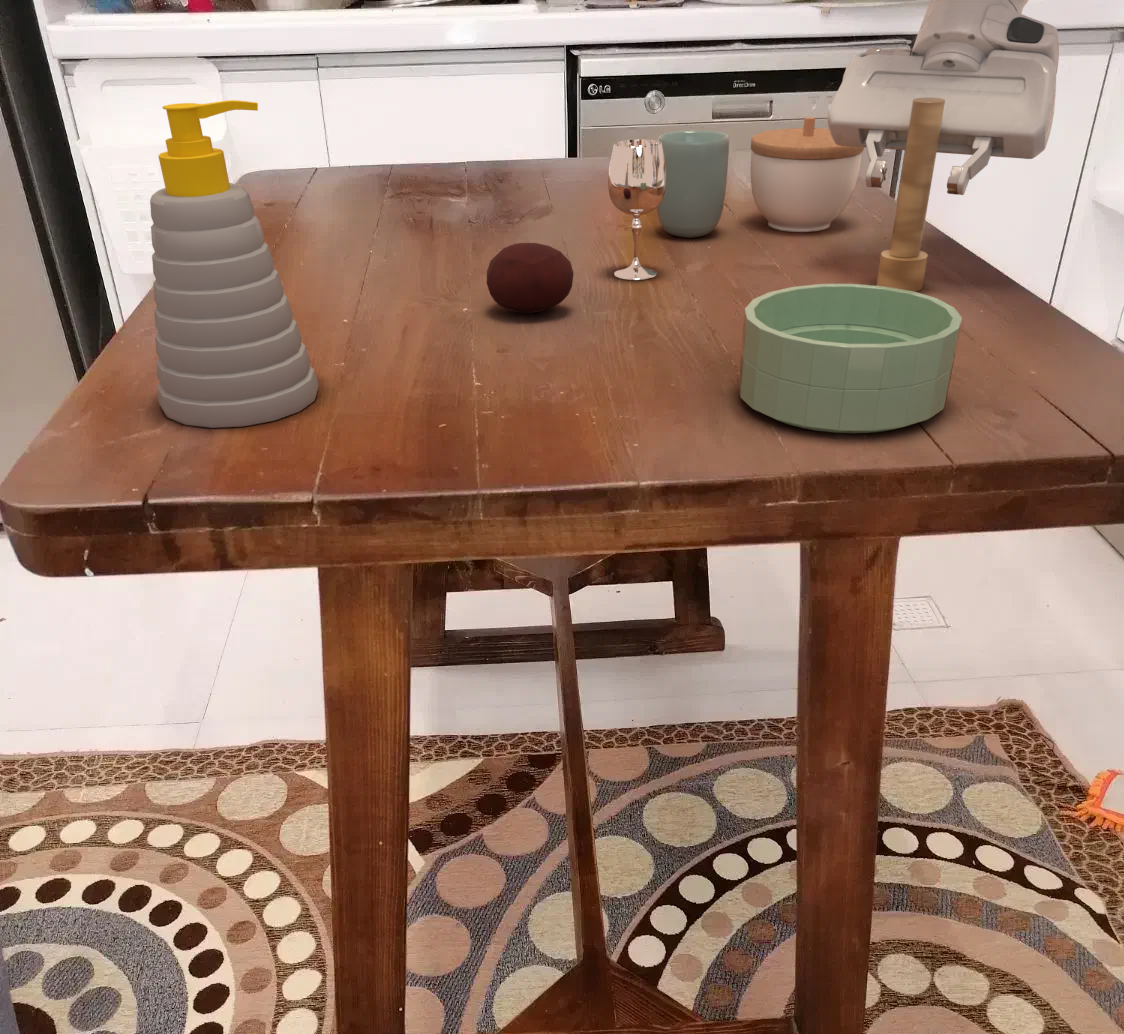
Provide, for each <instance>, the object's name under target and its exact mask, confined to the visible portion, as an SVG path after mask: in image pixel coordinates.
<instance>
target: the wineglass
mask: <svg viewBox="0 0 1124 1034" xmlns="http://www.w3.org/2000/svg"><path fill="white" fill-rule="evenodd" d="M610 156H611V157H610V161H609V165H608V174H607V175H608V176H607V188H608V195H609V198H610V201H611V203H612V204H613V206H614V207H615V208H616V209H617V210H619V211H621V212H622V213H624V214H627V215H629V216H633V219H632V221H631V226H630V227H631V232H632V239H633V258H632V262H631V263H630V265H629V266H628V267H622V268H619V269H616V270H615V271H614V272H613V276H614V277H616V278H618V279H621V280H627V281H642V280H648V279H653V278H655V277H657V276H658V271H656V270H655V269H653V268H649V267H645V266H643V265H642V264H641V263H640V260H639V241H640V235H641V232H642V221H641V219H640V217H641V216H643V215H647V214H648V213H651V212H652V211H654V210H657V207H658V206H659V205H660V203H661V202H662V200H663V198H664V195H665V190H666V179H667V175H666V164H665V158H664V152H663V147H662V143H661V142H660V141H658V140H655V139H645V138H644V139H643V138H642V139H639V138H638V139H624V140H619V141H616V142H614V143H613V147H612V152H611V155H610Z"/></svg>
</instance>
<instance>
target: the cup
mask: <svg viewBox="0 0 1124 1034" xmlns="http://www.w3.org/2000/svg"><path fill="white" fill-rule="evenodd" d="M657 141H660V142H661V143H662V147H663V152H664V158H665V164H666V175H667V179H666V190H665V195H664V198H663V200H662V202H661V203H660V205H659V206H658V207H657V208H656V210H657V217H658V220H659V223H660V225H661V227H662V228H663V230H664V231H665V232H666V233H667V234H669V235H671V236H674V237H677V238H683V239H684V238H685V239H686V238H687V239H694V238H701V237H704V236H707V235H709V234H710V233H712V232H713V231H714V230H715V229H716V228H717V226H718V224H719V222H720V220H721V217H722V213H723V210H724V205H725V199H726V192H727V191H726V190H727V183H728V169H729V156H730V155H729V154H730V136H729V134H727V133H725V132H721V131H715V130H705V129H704V130H703V129H701V130H699V129H687V130H686V129H685V130H674V131H668V132H665V133H662V134H660V135H659V136H658V137H657Z"/></svg>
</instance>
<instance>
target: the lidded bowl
mask: <svg viewBox="0 0 1124 1034" xmlns="http://www.w3.org/2000/svg"><path fill="white" fill-rule="evenodd" d="M815 125H816V117H814V116H806V117H804V118H803V127H795V128H794V127H793V128H780V129H771V130H766V131H762V132H759V133H756V134H754V135H753V136H752V137H751V138H750V139H751V141H750V150H751V153H750V155H751V156H750V186H751V192H752V197H753V201H754V203H755V206H756V207H757V209H758V210H759V212H760V214H761V215H762V216H763V217H764V218H765V219H766V220H767V221H768V222H767V226H768V227H770V228H772V229H774V230H778V231H782V232H792V233H810V232H819V231H824V230H827V229H829V228H830V227H831V223H832V222H833V221H835V220H836V219H837V217H839V216H840V215H841V213H843V212H844V210H845V209H846V208H847V206H848V205H849V202H850V201H851V199H852V197H853V195H854V193H855V189H856V187H857V183H858V179H859V175H860V171H861V164H862V157H863V152H864V150H865V147H852V146H839V145H836V144H835V142H834V140H833V138H832V136H831V134H830V130H829V128H822V127H821V128H820V127H815Z"/></svg>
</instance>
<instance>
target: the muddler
mask: <svg viewBox="0 0 1124 1034" xmlns="http://www.w3.org/2000/svg"><path fill="white" fill-rule="evenodd" d="M944 105H945V100H944V99H941V98H916V99H913V103H912V109H911V116H910V123H909V129H908V136H907V142H906V149H905V150H904V155H903V162H902V168H901V169H902V170H901V176H900V182H899V189H898V195H897V201H896V209H895V214H894V220H893V221H894V222H893V227H892V233H891V234H892V235H891V241H890V249H885V250H884V251H881V253H880V260H879V265H878V272H877V278H876V285H875V286H884V287H891V288H897V289H902V290H908V291H913V292H920V291H921V290H922V289H923V286H924V281H925V274H926V270H927V263H928V258H929V255H928V253H926V252H925V251H922V250H921V247H922V241H923V236H924V229H925V224H926V217H927V211H928V206H929V201H930V195H931V188H932V182H933V176H934V170H935V164H936V159H937V154H938V153H937V147H938V141H939V135H940V129H941V123H942V117H943V111H944Z"/></svg>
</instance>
